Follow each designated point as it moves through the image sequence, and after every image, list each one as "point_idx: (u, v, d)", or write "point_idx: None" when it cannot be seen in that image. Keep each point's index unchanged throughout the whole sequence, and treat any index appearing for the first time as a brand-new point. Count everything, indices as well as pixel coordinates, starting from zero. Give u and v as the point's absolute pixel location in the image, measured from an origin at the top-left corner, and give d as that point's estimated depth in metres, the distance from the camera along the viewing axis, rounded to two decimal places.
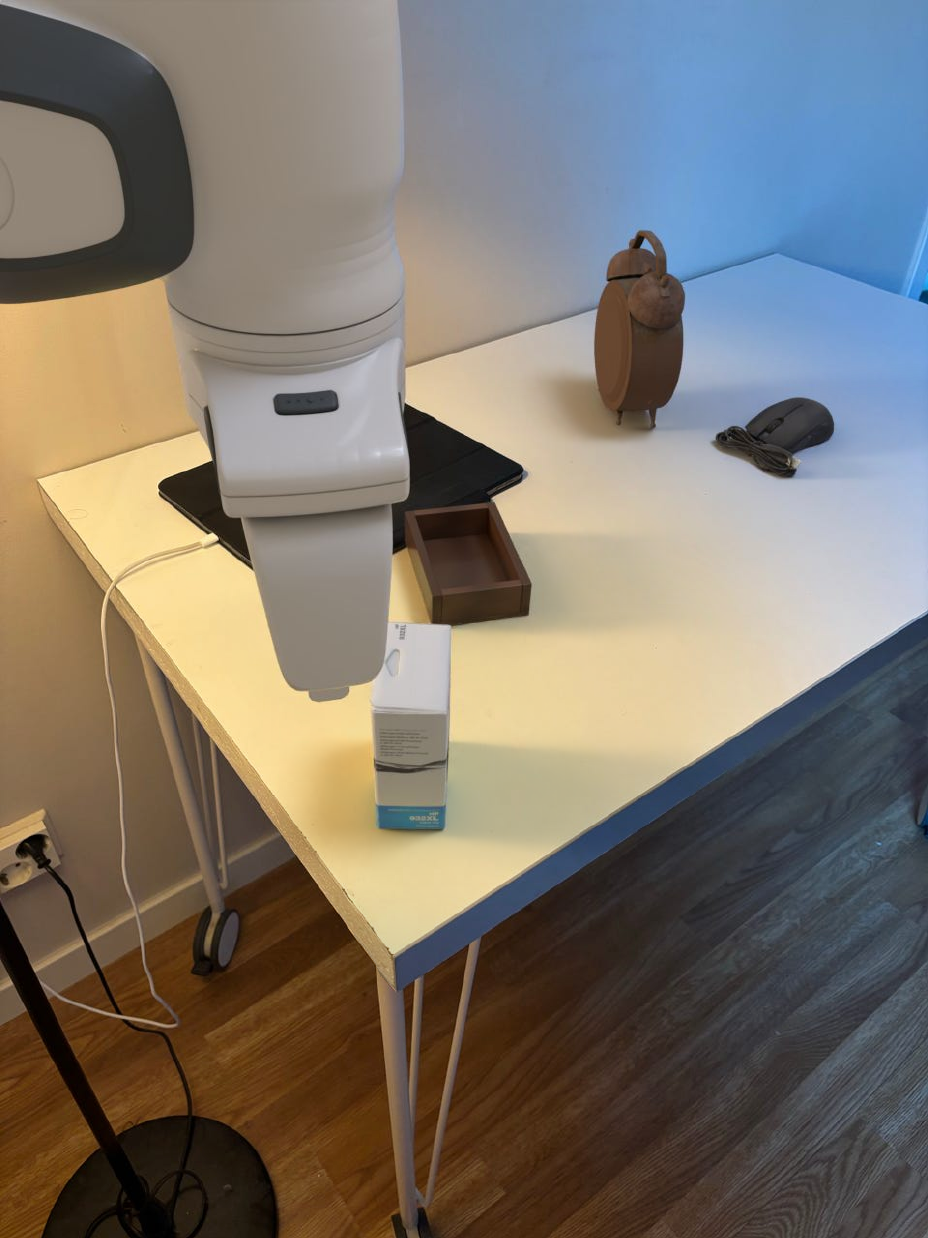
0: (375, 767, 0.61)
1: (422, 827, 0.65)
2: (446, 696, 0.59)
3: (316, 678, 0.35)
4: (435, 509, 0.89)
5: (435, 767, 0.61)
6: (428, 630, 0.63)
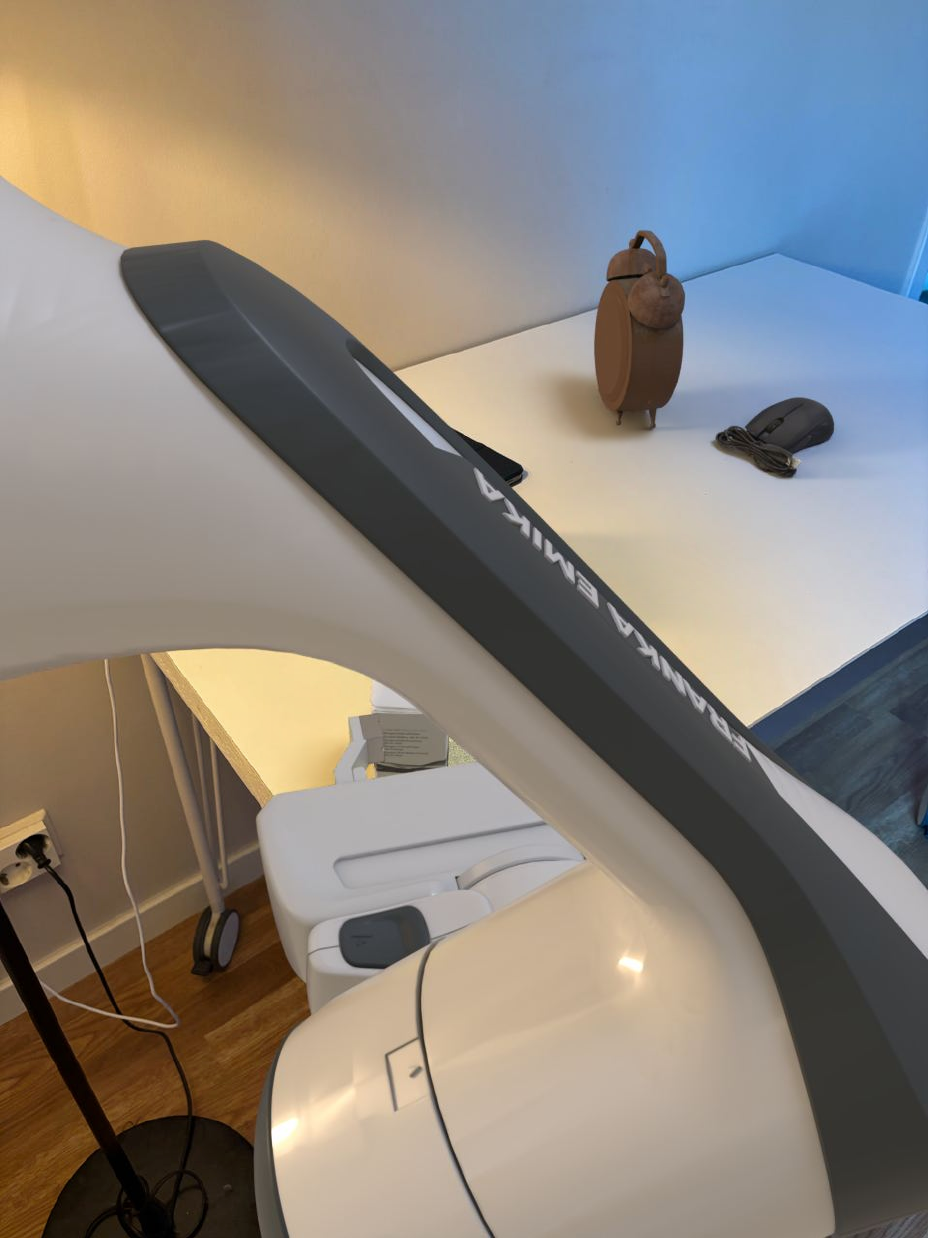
0: (375, 767, 0.61)
1: None
2: None
3: None
4: None
5: (435, 767, 0.61)
6: None
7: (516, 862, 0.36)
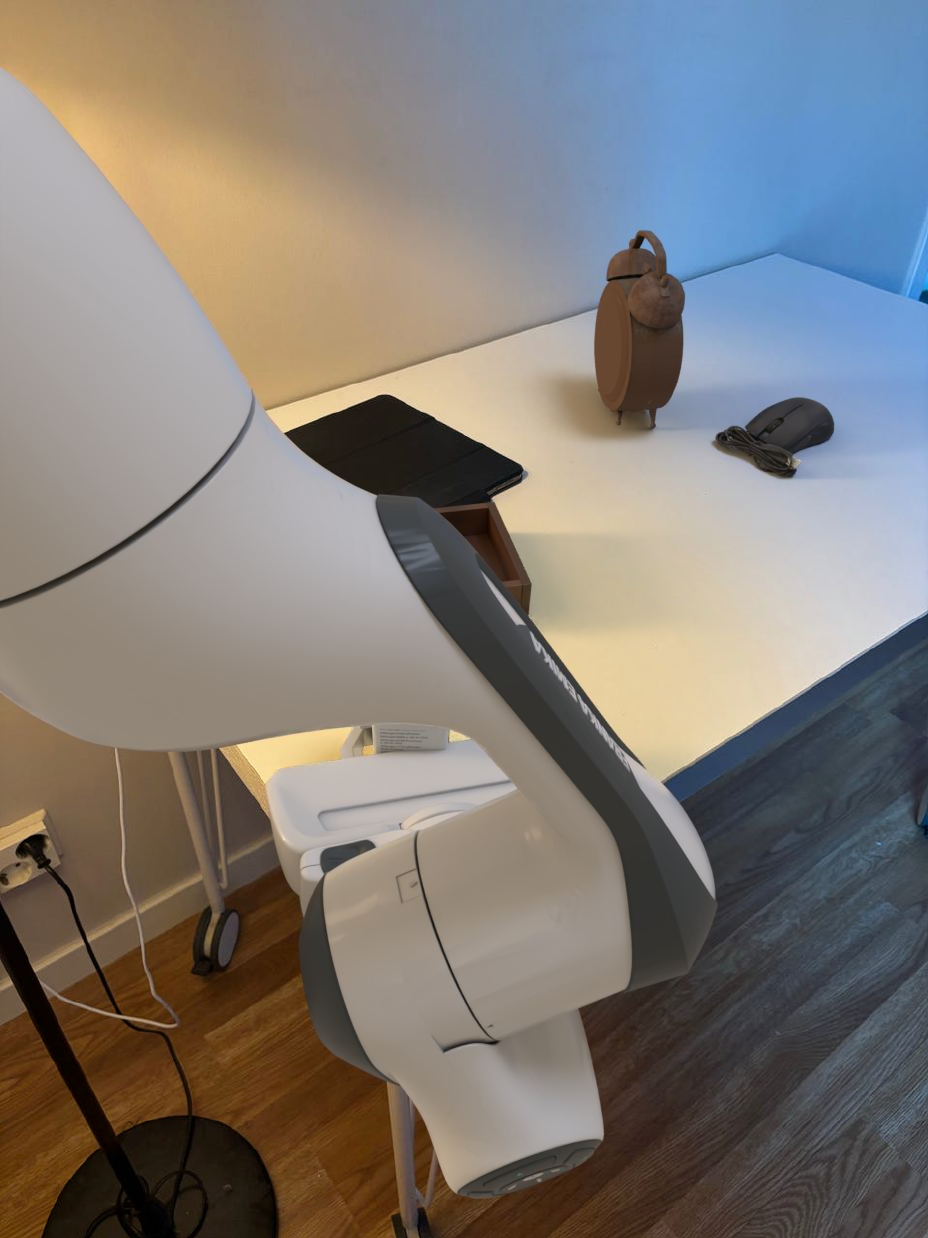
0: None
1: None
2: None
3: None
4: (435, 509, 0.89)
5: None
6: None
7: (439, 813, 0.54)
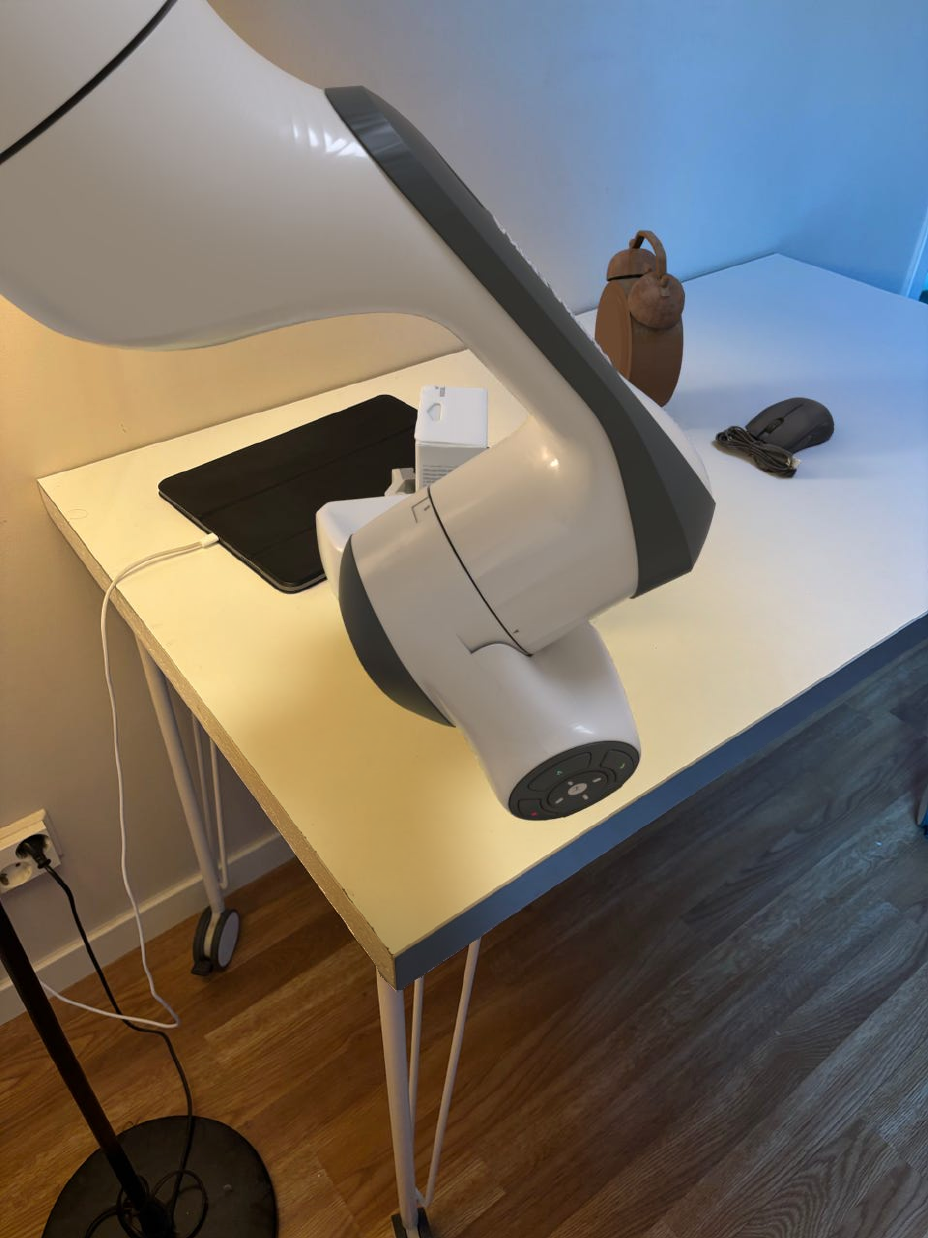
0: None
1: None
2: (485, 435, 0.63)
3: (317, 526, 0.62)
4: None
5: None
6: (466, 391, 0.67)
7: None
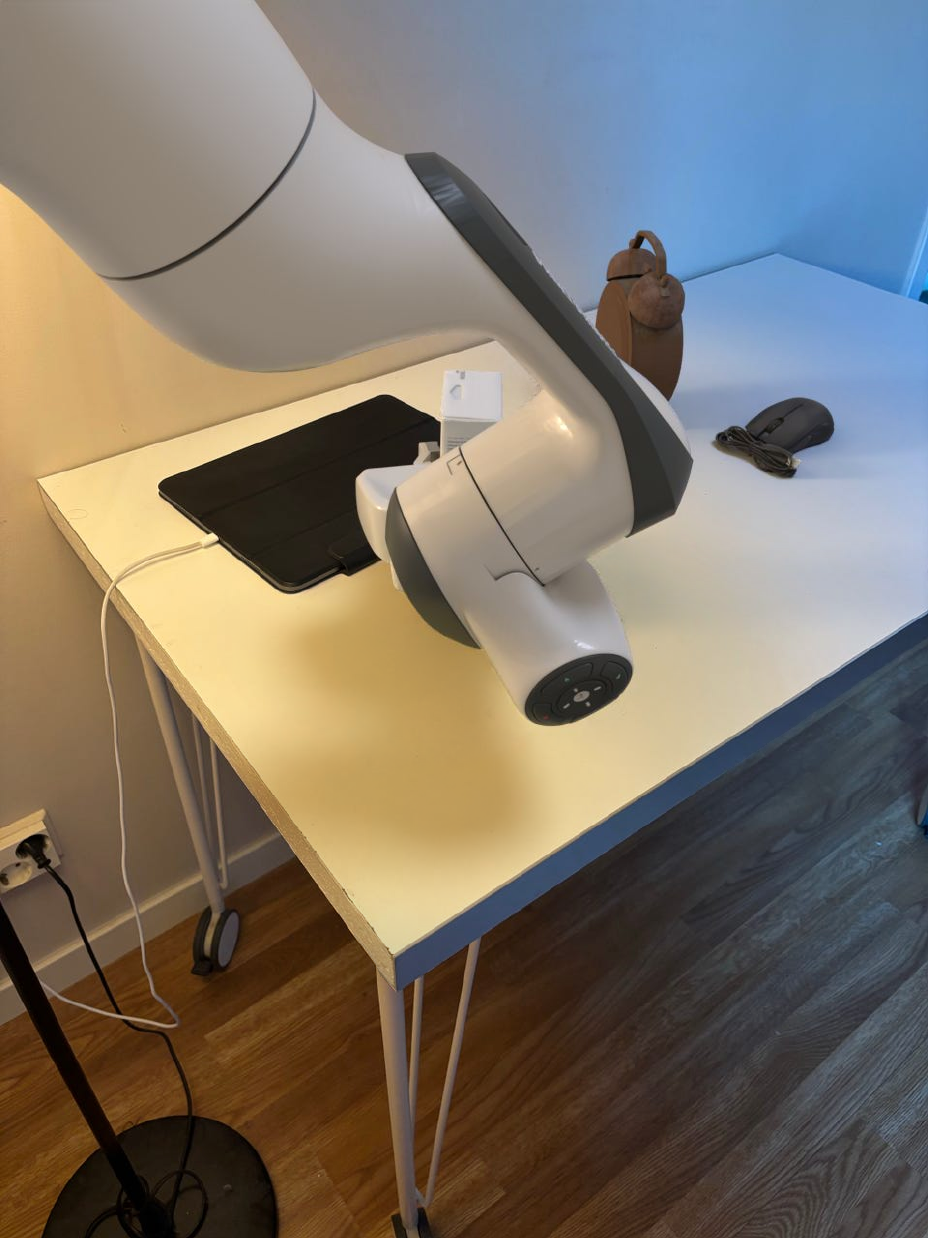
0: None
1: None
2: (501, 411, 0.73)
3: (356, 489, 0.72)
4: None
5: None
6: (483, 374, 0.77)
7: None
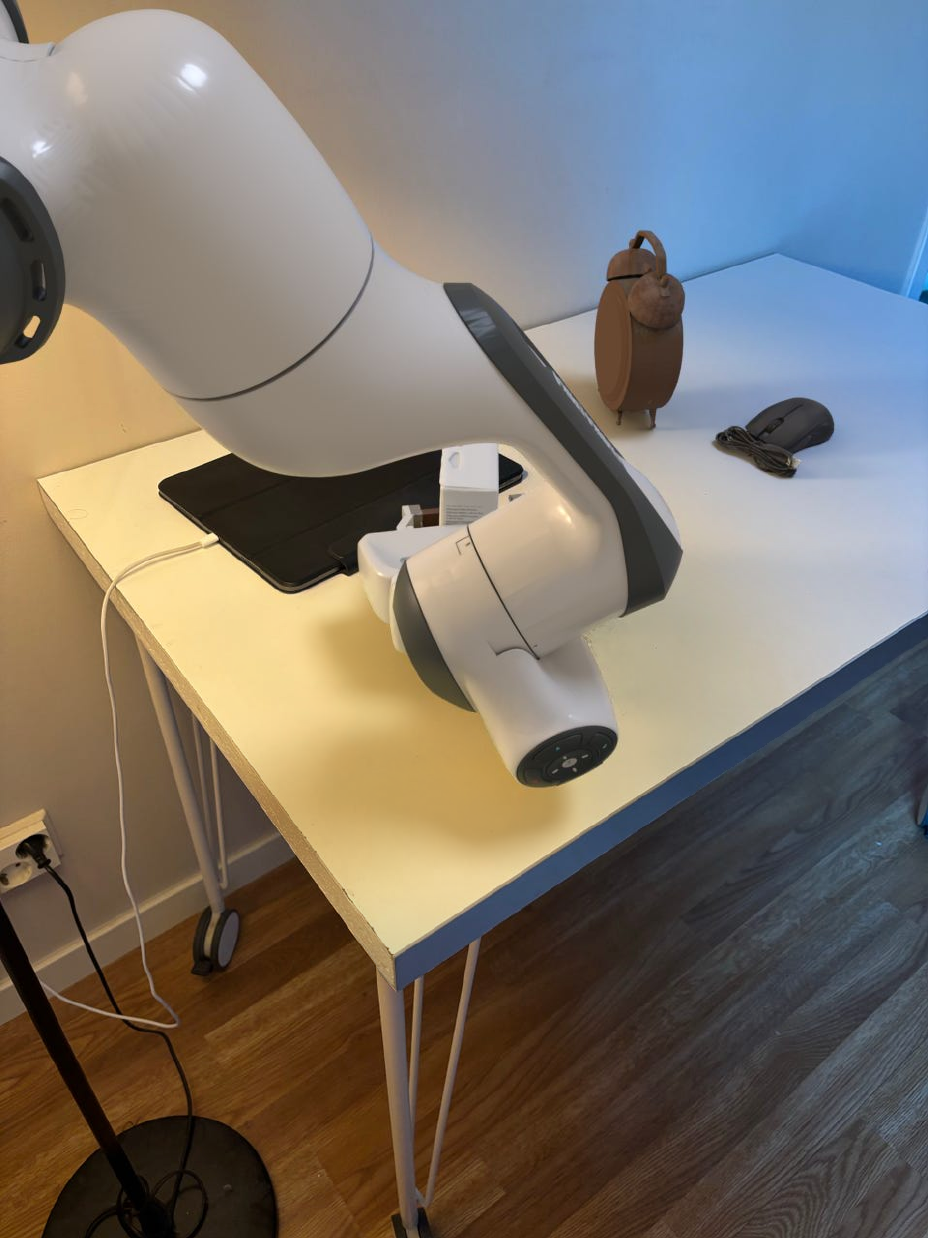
0: None
1: None
2: (497, 480, 0.77)
3: (358, 553, 0.76)
4: (435, 509, 0.89)
5: None
6: None
7: None
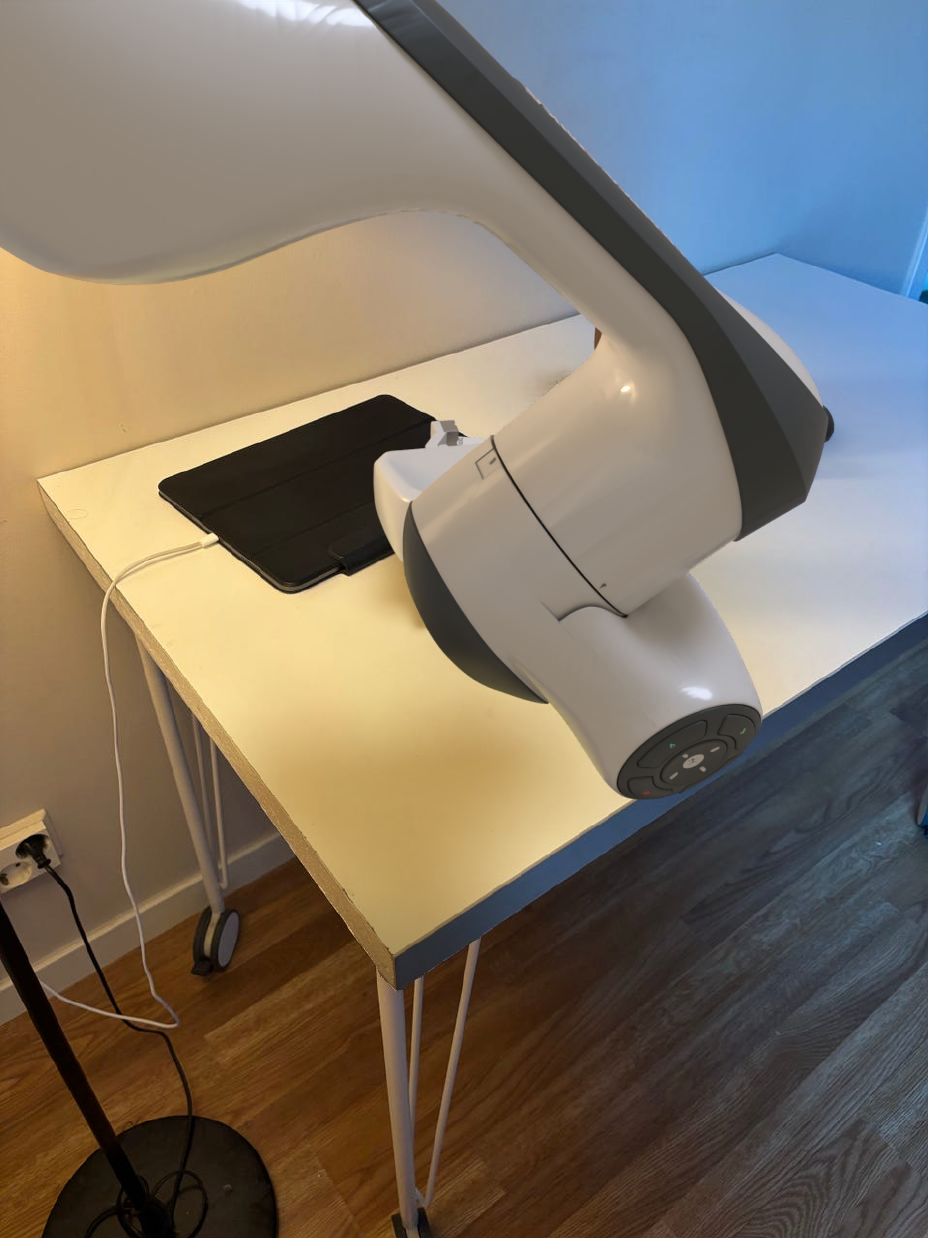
0: None
1: None
2: None
3: (375, 477, 0.56)
4: None
5: None
6: (480, 441, 0.81)
7: None
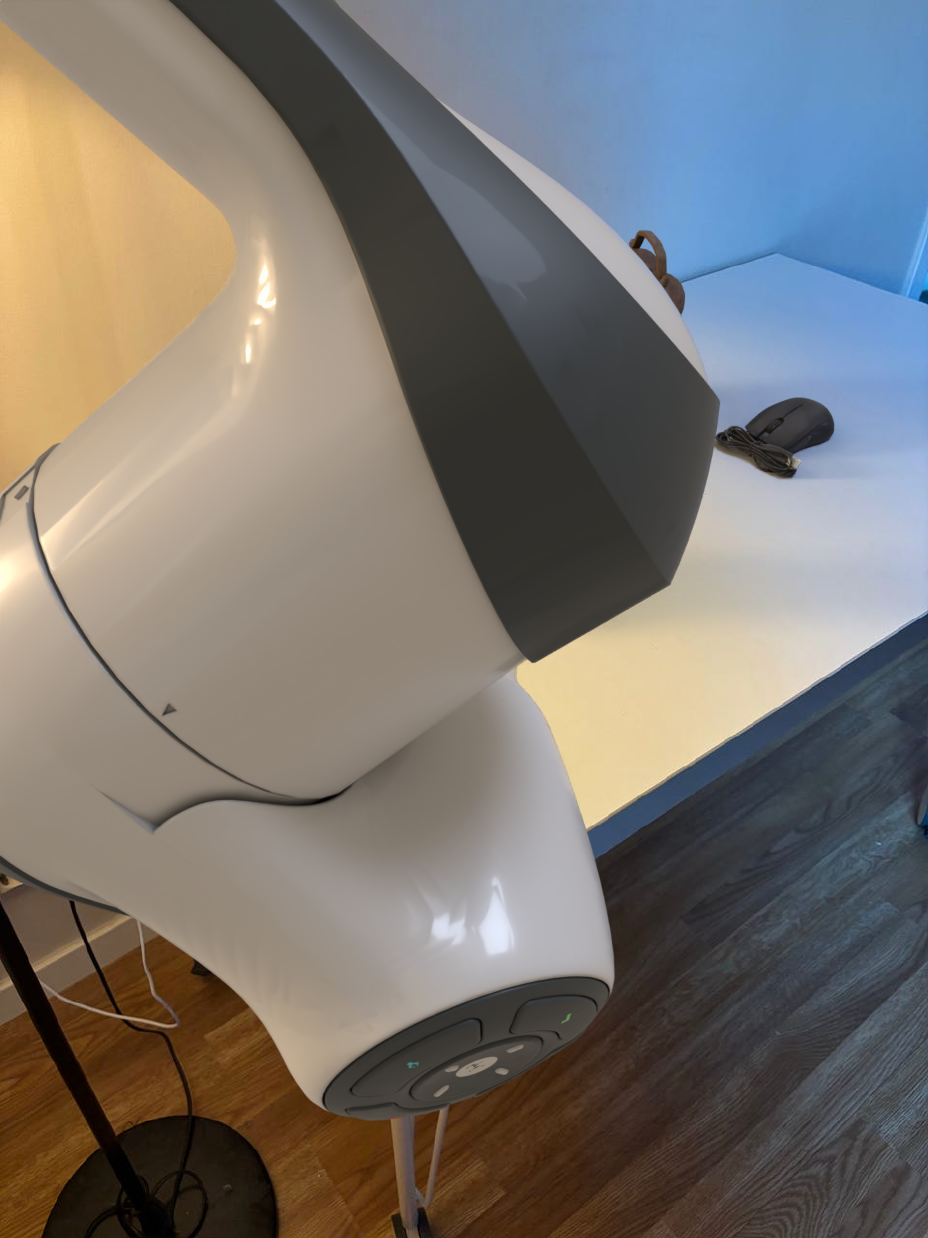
0: None
1: None
2: None
3: None
4: None
5: None
6: None
7: None
